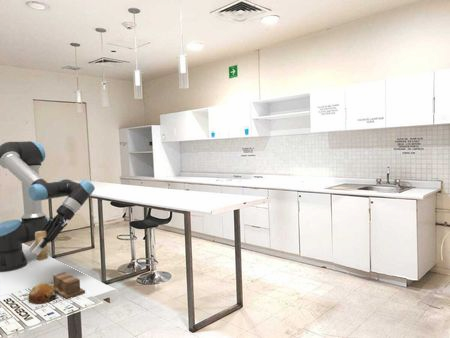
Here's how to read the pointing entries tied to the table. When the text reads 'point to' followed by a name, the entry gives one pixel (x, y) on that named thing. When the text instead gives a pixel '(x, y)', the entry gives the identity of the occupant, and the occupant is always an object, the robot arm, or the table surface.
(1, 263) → the robot arm
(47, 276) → the table surface
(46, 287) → the bread roll
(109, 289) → the table surface
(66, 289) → the base
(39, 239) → the post
